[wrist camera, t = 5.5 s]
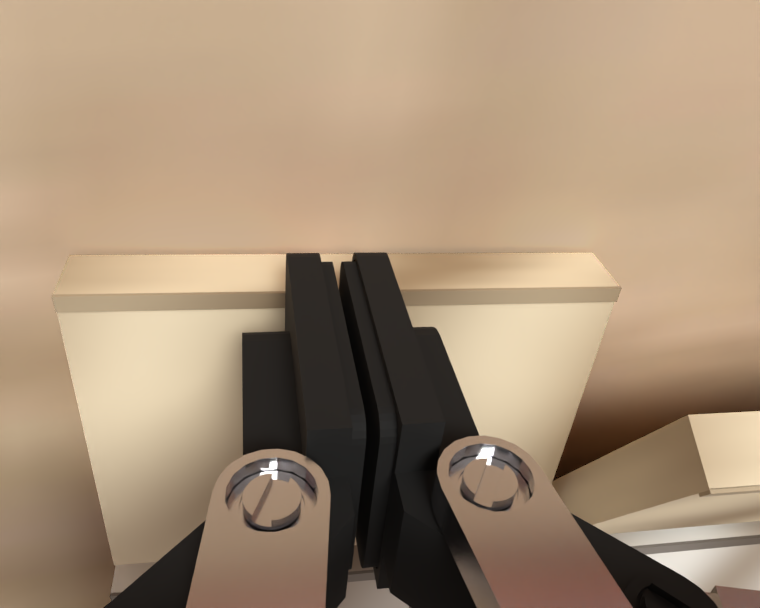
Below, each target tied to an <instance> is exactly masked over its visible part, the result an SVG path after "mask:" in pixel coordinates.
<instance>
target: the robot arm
mask: <svg viewBox="0 0 760 608" xmlns="http://www.w3.org/2000/svg"><path fill="white" fill-rule="evenodd" d="M242 401H243V456H242V457H240V458H239V459H237V460H235V461H234V462H232V463H230V464H229V465H228V466H227V467H226V469H225V470H224V471H223V472H222V473H221V474H220V475H219V477H218V479H217V481H216V484H215V486H214V488H213V491H212V495H211V500H210V504H209V508H208V513H207V517H206V520H205V521H204V522H203V523H202V524H200V525H199V526H198V527H197V528H196V529H195V530H193V531H192V532H191V533H190V534H189V535H188V536H186V537H185V538H184V539H183V540H182V541H181V542H179V543H178V544H177V545H176V546H175V547H174V548H172V549H171V550H170V551H169V552H168V553H167V554H166V555H164V556H163V557H162V558H161V559H160V560H159V561H157V562H156V563H155V564H154V565H153V566H152V567H150V568H149V569H148V570H147V571H146V572H145V573H143V574H142V575H141V576H140V577H139V578H138V579H136V580H135V581H134V582H133V583H132V584H131V585H129V586H128V587H127V588H126V589H125V590H124V591H123V592H121V593H120V594H119V595H118V596H117V597H116V598H114V599H113V600H112V601H111V602H110V603H109V604H107V605H106V606H105V607H104V608H337V607H338V606H339V605H340V604H341V602H342V601H343V600H344V599H345V598H346V590H347V580H348V571H349V570H350V569H352V563H353V554H354V545H355V537H356V543H357V549H358V555H359V561H360V565H361V567H362V568H370V567H373V570H374V575H375V581H376V586H377V589H384V588H389V590H390V593H391V594H392V595H394V596H395V597H397V598H398V599H400V600H401V601H402V602H404V603H405V604H407V605H408V606H409V608H760V591H758V590H750V589H741V588H733V587H725V586H716V585H715V586H714V588H713V589H712V591H711V592H710V593H709V592H704V591H703V590H702V589H701V588H700V587H698V586H697V585H696V584H694V583H693V582H691V581H690V580H688V579H687V578H686V577H684V576H682V575H681V574H679V573H677V572H675V571H673V570H672V569H670V568H668V567H666V566H665V565H663V564H661V563H659V562H657V561H656V560H654V559H652V558H650V557H648V556H647V555H645V554H643V553H641V552H640V551H638V550H636V549H634V548H632V547H631V546H629V545H627V544H625V543H624V542H622V541H620V540H618V539H616V538H615V537H613V536H611V535H609V534H607V533H606V532H604V531H602V530H600V529H599V528H597V527H595V526H593V525H591V524H590V523H588V522H586V521H584V520H583V519H581V518H579V517H577V516H575V515H574V514H572V513H570V512H569V510H568V508H567V507H566V505H565V504H564V502H563V501H562V499H561V498H560V496H559V495H558V493H557V492H556V490H555V489H554V487H553V486H552V484H551V483H550V481H549V480H548V478H547V477H546V475H545V474H544V472H543V470H542V469H541V467H540V466H539V465H538V464H537V462H536V461H535V460H534V459H533V458H532V457H531V456H530V454H528V453H527V452H526V451H524V450H523V449H521V448H520V447H518V446H517V445H515V444H513V443H510V442H508V441H506V440H503V439H501V438H496V437H490V436H484V435H483V436H479V433H478V431H477V428H476V425H475V423H474V420H473V418H472V415H471V413H470V410H469V408H468V405H467V402H466V400H465V397H464V395H463V392H462V390H461V387H460V385H459V382H458V380H457V377H456V374H455V372H454V369H453V367H452V364H451V362H450V359H449V357H448V354H447V352H446V349H445V346H444V344H443V341H442V339H441V336H440V334H439V332H438V330H437V329H436V328H435V327H413V326H412V323H411V320H410V317H409V314H408V312H407V309H406V306H405V303H404V300H403V297H402V294H401V291H400V288H399V285H398V283H397V280H396V277H395V274H394V271H393V268H392V265H391V262H390V259H389V257H388V254H387V253H354V254H353V257H352V261H344V262H341V266H340V279H339V289H338V284H337V280H336V275H335V270H334V266H333V262H321V257H320V254H319V253H287V254H286V282H285V331H278V332H246V333H242Z"/></svg>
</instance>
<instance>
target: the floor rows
mask: <svg viewBox="0 0 760 608" xmlns="http://www.w3.org/2000/svg"><path fill="white" fill-rule="evenodd" d="M609 535H611V536H613V537H615V538H616V539H618V540H620V541H622V542H624V543H625V544H627V545H629V546H631V547H632V548H634V549H636V550H638V551H640V552H641V553H643V554H645V555H647V556H648V557H650V558H652V559H654V560H656V561H657V562H659V563H661V564H663V565H665V566H666V567H668V568H670V569H672V570H673V571H675V572H677V573H679V574H681V575H682V576H684V577H686V578H687V579H688V580H690V581H691V582H693V583H694V584H696V585H697V586H698V587H700V588H701V589H702V590H703V591H704V592H709V593H710V592H711V591H712V589H713V588H714V586H715V585H716V586H725V587H733V588H741V589H750V590H758V591H760V521H754V522H742V523H730V524H719V525H707V526H695V527H684V528H672V529H661V530H649V531H637V532H626V533H614V534H609ZM155 563H156V562H148V563H136V564H124V565H116V566H115V572H114V577H113V583H112V588H111V594H110V599H111V601H112V600H113V599H114V598H116V597H117V596H118V595H119V594H120V593H121V592H123V591H124V590H125V589H126V588H127V587H128V586H129V585H131V584H132V583H133V582H134V581H135V580H136V579H138V578H139V577H140V576H141V575H142V574H143V573H145V572H146V571H147V570H148V569H149V568H150V567H152V566H153V565H154V564H155ZM337 608H409V606H408V605H407V604H405V603H404V602H402V601H401V600H400V599H398V598H397V597H395V596H394V595H392V594H391V593H390V590H389V588H384V589H377V586H376V581H375V575H374V570H373V567H370V568H362V567H361V565H360V561H359V555H358V549H357V545H354V554H353V563H352V569H350V570H349V571H348V580H347V590H346V598H345V599H344V600H343V601H342V602H341V604H340V605H339V606H338V607H337Z"/></svg>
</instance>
